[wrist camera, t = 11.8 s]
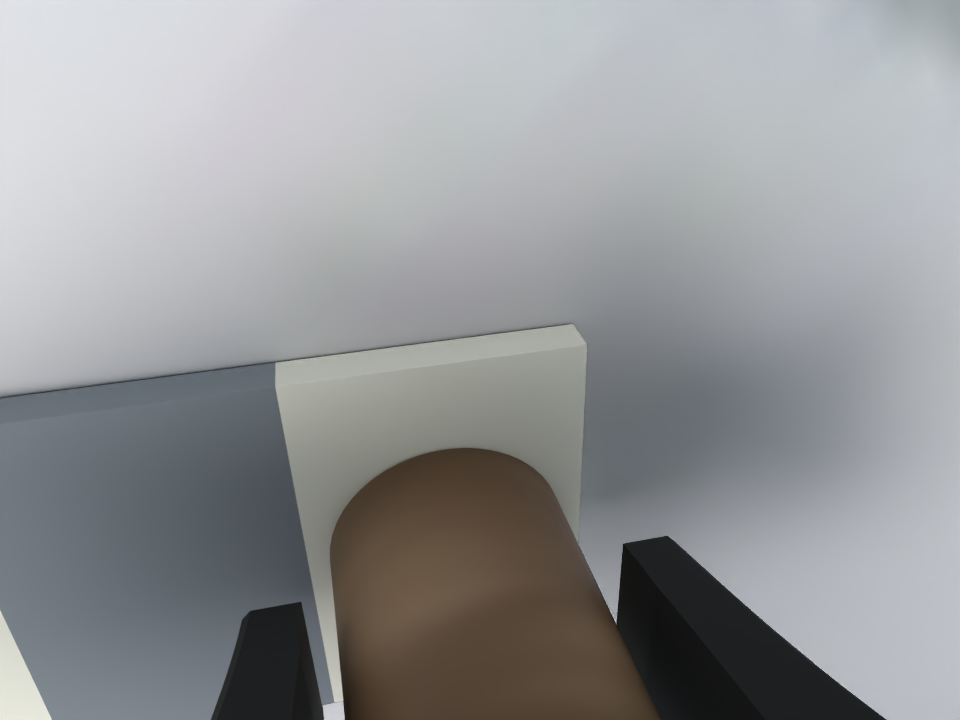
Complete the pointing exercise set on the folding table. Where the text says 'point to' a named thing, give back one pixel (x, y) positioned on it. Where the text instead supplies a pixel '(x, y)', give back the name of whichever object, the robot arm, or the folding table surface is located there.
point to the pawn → (473, 600)
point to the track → (234, 506)
